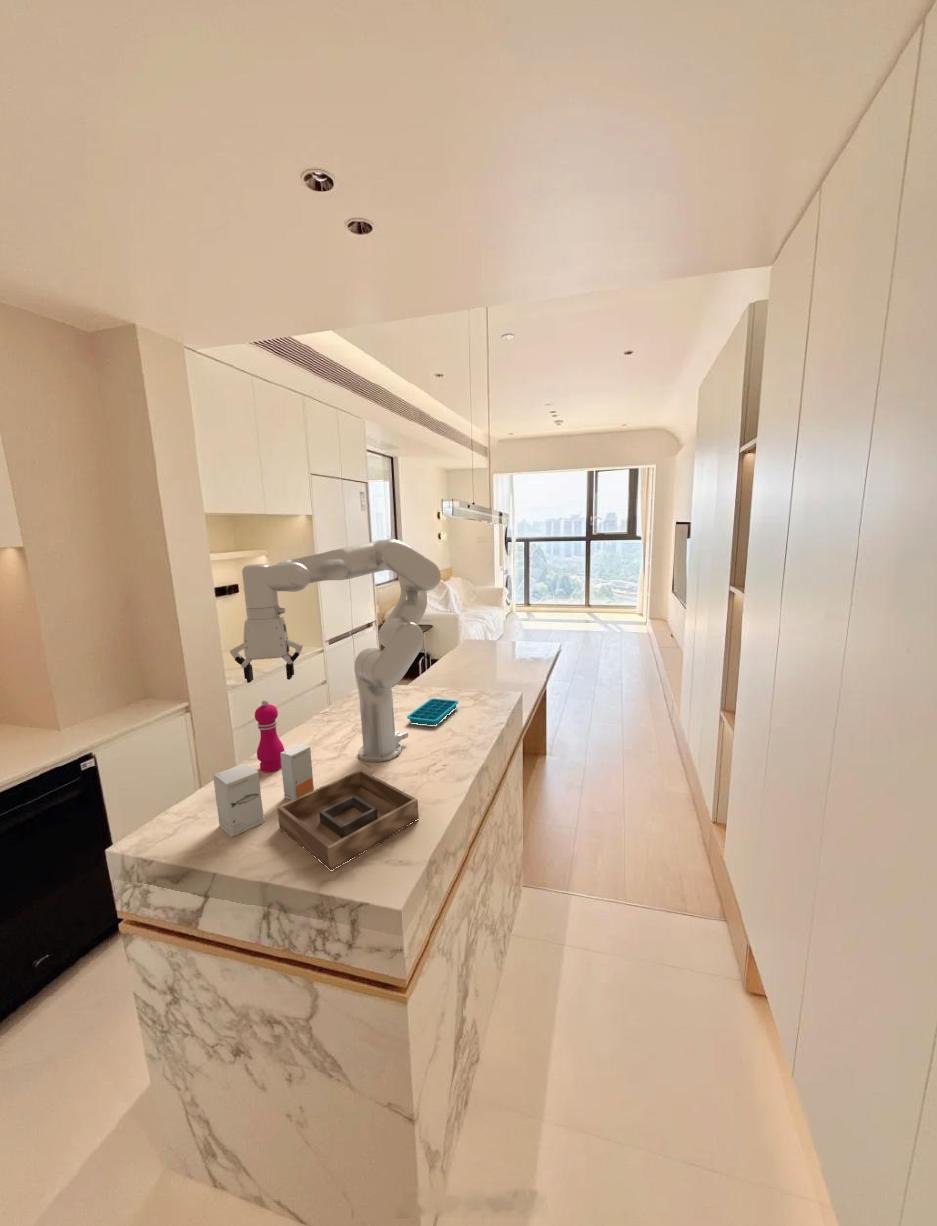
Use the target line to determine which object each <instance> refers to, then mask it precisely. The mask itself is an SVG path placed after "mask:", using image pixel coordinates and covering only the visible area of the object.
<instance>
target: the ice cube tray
mask: <svg viewBox="0 0 937 1226" xmlns="http://www.w3.org/2000/svg"><path fill="white" fill-rule="evenodd" d="M458 704H459V701H458V700H453V699H446V698H445V699H443V698H430V699H429V700H427V701H426V702H424V703H423V704H422V705H420V706H418V708H416V709H415V710H414V711H412V712H411V713H410V714H408V715H406V718H407V719H409V723H410V722H411V723H418V724H427V725H436V724H438V723H439V722H440V721H441V720H442V719H443V718H444V717H445V716H446V715H447V714H449V713H450V712H451V711H452V710H453V709H455V708H456V709H457V705H458Z"/></svg>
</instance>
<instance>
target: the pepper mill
mask: <svg viewBox="0 0 937 1226" xmlns="http://www.w3.org/2000/svg"><path fill="white" fill-rule="evenodd" d="M278 711H279V710H278V708H277V707H276V706H275V705H274V704H270V703H269V700H268V699H263V700H261V705H260V706H258V707H257V709H255V712H254V719H255V721H256V722H257V729H258V730H259V732H260V739H259V743H258V746H257V750H256V757H257V760H259V765H260V766H259V767H260V768H259V769H260V771H261V772H262V773H263V772H264V773H274V772H276V771H278V770H282V766H281V756H280V753H281V752H283V751H285V746H284V744H283V742H282V741H281V739H280V737H279V736H278V732H277V726H278V721H277V717H278V715H279V712H278Z"/></svg>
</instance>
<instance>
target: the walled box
mask: <svg viewBox="0 0 937 1226" xmlns="http://www.w3.org/2000/svg"><path fill="white" fill-rule="evenodd" d="M418 801H419V800H418V799H417V798H416V797H414V796H412V795H410V794H408V793H406V792H405V791H403V790H401V789H399V788H397V787H395V786H393V785H391V784H389V783H387V782H385V781H384V780H382V779H380V778H378V777H377V776H374V775H372V774H370V773H368V772H367V771H365V770H364V769H360V770H357V771H355V772H352V773H350V774H348V775H345V776H343V777H341V778H339V779H337V780H334V781H333V782H330V783H328V784H326V785H323V786H322V787H319V788H317V789H314V791H312V792H310V793H307V794H305V795H303V796H301V797H299V798H296V799H294V800H290V801H287V802H286V803H282V804H281V805H279V806H276V809H277V816H278V817H277V818H278V825H279V826H278V827H279V829H280V830H281V831H283V832H284V833H285V834H286V835H287V836H289V837H290V838H291V839H292V840H293V841H295V842H296V843H297V844H298V843H299V844H300V845H301V846H302V847H301V846H300V845H299V844H298V845H299V846H300V847H301V848H303V847H304V848H305V849H306V850H307V851H308V852H307V851H306V850H305V849H304V848H303V849H304V850H305V851H306V852H307V853H309V852H310V853H311V854H312V855H313V856H315V857H316V858H317V859H319V860H320V861H321V862H322V863H323V864H324V865H326V866H327V867H328V868H329V869H330V870H333V869H335V868H336V867H338V866H340V865H342V864H343V863H345V862H347V861H349V860H350V859H352V858H354V857H356V856H358V855H359V854H361V853H363V852H364V851H366V850H368V849H370V848H371V849H373V848H374V847H373V846H375V845H376V844H378V843H380V844H381V843H382V842H383V843H384V842H385V841H386V840H388V839H390V838H391V837H393V836H394V835H393V834H395V833H396V832H398V831H399V830H401V829H402V828H404V827H406V826H407V825H409V824H410V823H412V822H414V821H415V820H417V819H419V820H420V818H419V803H418ZM406 828H407V827H406ZM401 831H402V830H401ZM398 833H399V832H398ZM396 834H397V833H396ZM396 834H395V835H396ZM392 835H393V836H392ZM390 836H391V837H390ZM389 837H390V838H389ZM387 838H388V839H387ZM385 839H386V840H385ZM384 840H385V841H384ZM378 845H379V844H378ZM376 846H377V845H376ZM376 846H375V847H376ZM372 847H373V848H372ZM371 849H370V850H371ZM368 851H369V850H368ZM366 852H367V851H366ZM310 853H309V854H310ZM311 854H310V855H311ZM363 854H364V853H363ZM312 855H311V856H312ZM361 855H362V854H361ZM313 856H312V857H313ZM358 857H359V856H358ZM316 858H315V859H316ZM356 858H357V857H356ZM317 859H316V860H317ZM323 864H322V865H323ZM324 865H323V866H324ZM330 870H329V871H330Z"/></svg>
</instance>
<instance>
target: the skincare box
mask: <svg viewBox="0 0 937 1226" xmlns="http://www.w3.org/2000/svg"><path fill="white" fill-rule="evenodd" d="M311 752H312V751H311V746H308V745H305V744H301V743H299V744H296V745H294V746H291V747H289V748H288V749H286V750H285V749H284V751H283V752H281V753H280V756H281V766H282V768H281V775H282V785H283V793H284V795H283V796H284V798H286V799H288V800H290V801H292V800H294V799H296V798H299V797H301V796H303V795H305V794H307V793H310V792H312V791H314V790H315V787H314V776H313V764H312V754H311Z"/></svg>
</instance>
